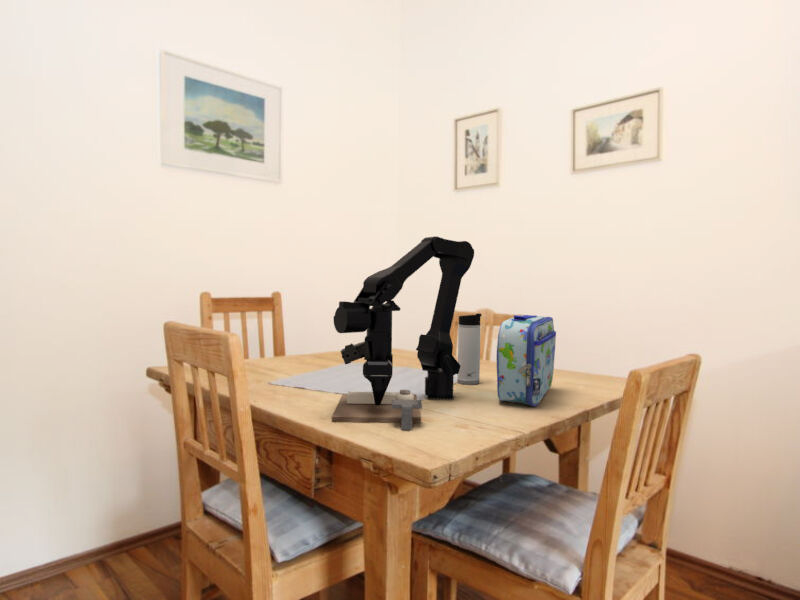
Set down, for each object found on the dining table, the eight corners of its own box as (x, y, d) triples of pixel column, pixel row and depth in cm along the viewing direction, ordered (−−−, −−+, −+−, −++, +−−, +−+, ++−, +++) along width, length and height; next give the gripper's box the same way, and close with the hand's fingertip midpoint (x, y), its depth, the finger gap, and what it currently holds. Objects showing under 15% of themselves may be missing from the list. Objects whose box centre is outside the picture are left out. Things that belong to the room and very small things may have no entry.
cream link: (413, 400, 113) (413, 391, 113) (414, 404, 109) (414, 395, 109) (348, 399, 113) (348, 391, 113) (346, 404, 109) (346, 395, 109)
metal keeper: (420, 421, 100) (420, 400, 100) (422, 430, 94) (422, 407, 94) (391, 421, 100) (391, 399, 100) (391, 429, 94) (391, 407, 94)
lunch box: (537, 411, 110) (539, 318, 109) (490, 405, 115) (492, 316, 114) (557, 390, 133) (559, 312, 132) (518, 385, 138) (519, 311, 137)
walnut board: (416, 398, 120) (416, 382, 120) (420, 422, 99) (421, 403, 99) (342, 397, 120) (342, 382, 120) (331, 421, 99) (331, 402, 99)
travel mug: (473, 386, 136) (475, 314, 135) (453, 383, 140) (454, 312, 139) (484, 382, 141) (485, 313, 140) (464, 379, 145) (465, 312, 144)
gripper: (347, 327, 120) (346, 390, 120) (338, 335, 101) (338, 410, 102) (393, 327, 120) (392, 391, 121) (392, 335, 101) (391, 410, 102)
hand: (378, 400), depth 111 cm, fingers open, 9 cm apart
